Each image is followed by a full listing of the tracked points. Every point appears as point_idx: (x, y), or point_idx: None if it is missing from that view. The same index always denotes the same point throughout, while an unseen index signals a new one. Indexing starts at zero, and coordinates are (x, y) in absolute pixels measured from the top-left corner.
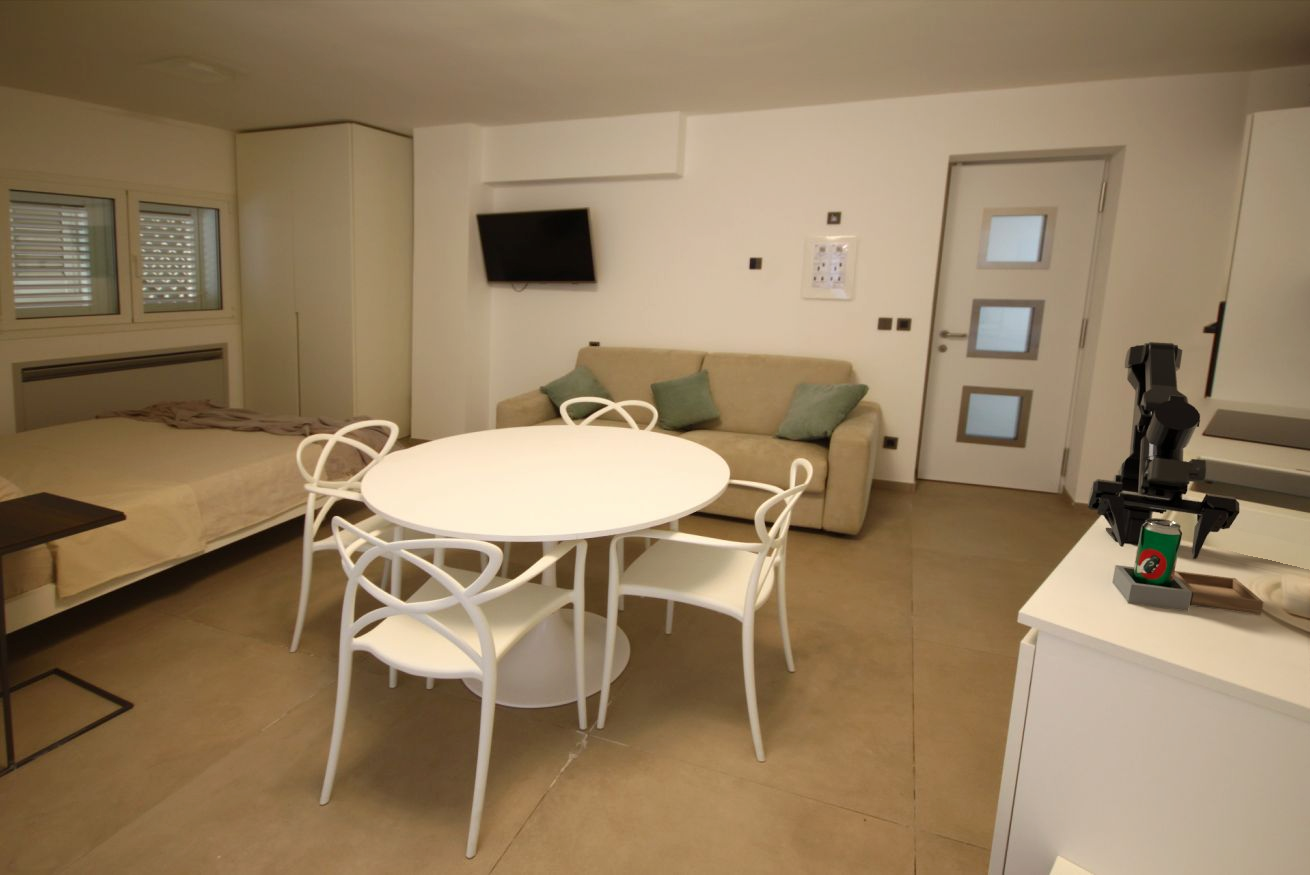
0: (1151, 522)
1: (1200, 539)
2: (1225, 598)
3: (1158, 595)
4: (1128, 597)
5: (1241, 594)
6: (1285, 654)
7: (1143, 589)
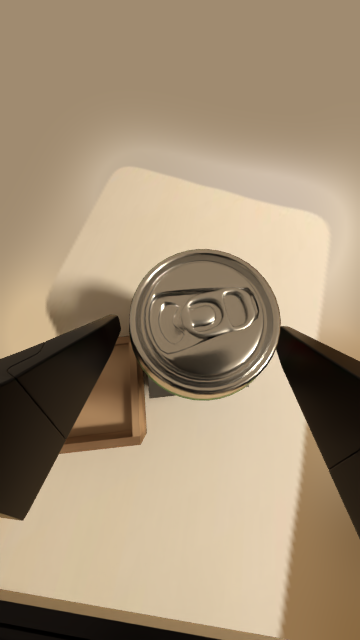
0: (257, 292)
1: (75, 335)
2: None
3: None
4: None
5: None
6: (86, 242)
7: None
